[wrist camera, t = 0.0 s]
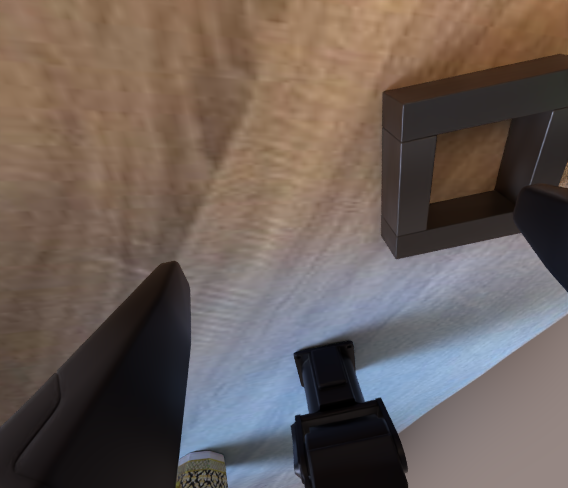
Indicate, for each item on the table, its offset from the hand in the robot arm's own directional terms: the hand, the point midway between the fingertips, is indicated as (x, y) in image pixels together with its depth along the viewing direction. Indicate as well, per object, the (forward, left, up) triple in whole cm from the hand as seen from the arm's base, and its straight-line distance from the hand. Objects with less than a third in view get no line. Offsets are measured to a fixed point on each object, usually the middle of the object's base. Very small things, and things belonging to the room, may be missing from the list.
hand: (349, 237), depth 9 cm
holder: (-6, -12, -15) cm, 20 cm away
